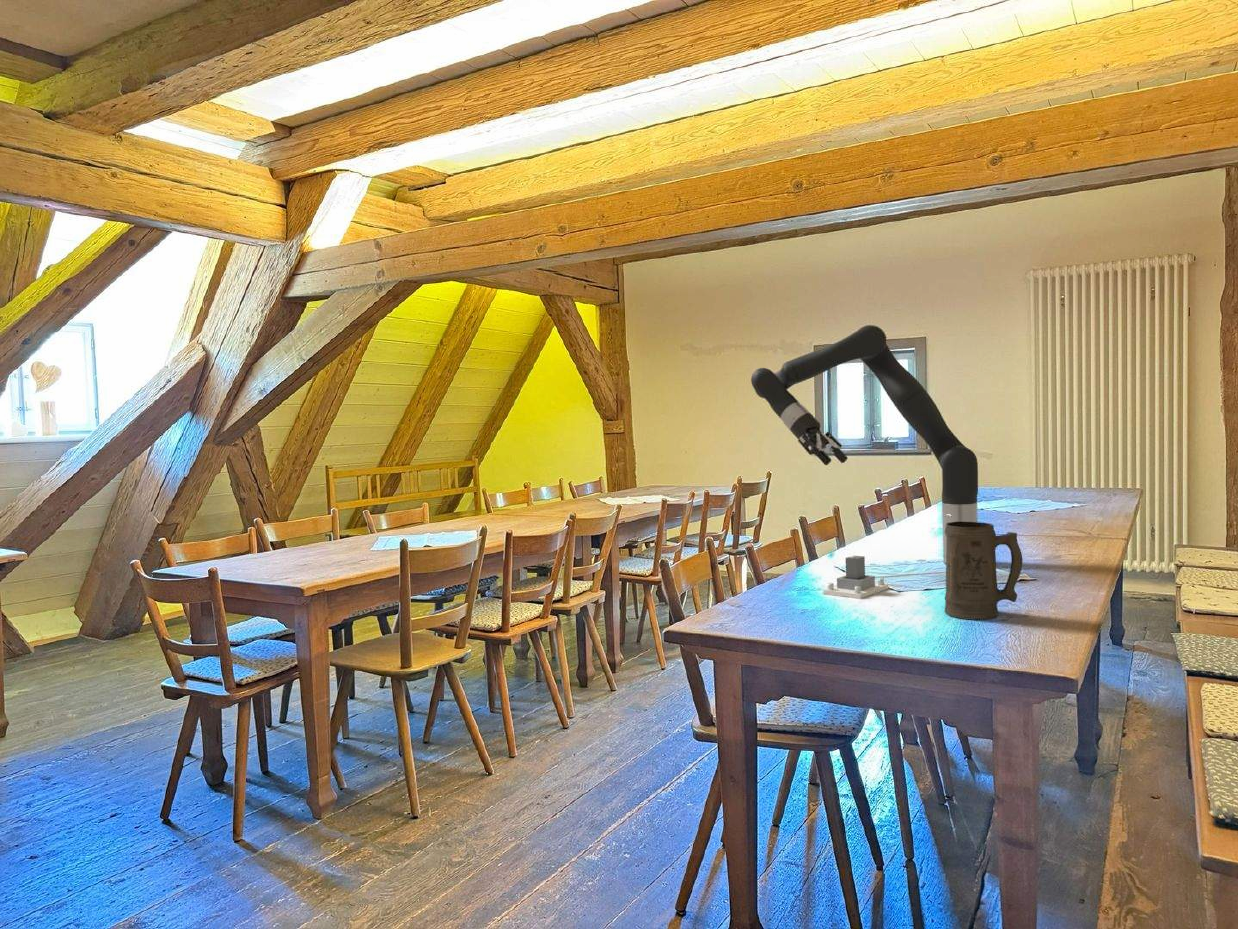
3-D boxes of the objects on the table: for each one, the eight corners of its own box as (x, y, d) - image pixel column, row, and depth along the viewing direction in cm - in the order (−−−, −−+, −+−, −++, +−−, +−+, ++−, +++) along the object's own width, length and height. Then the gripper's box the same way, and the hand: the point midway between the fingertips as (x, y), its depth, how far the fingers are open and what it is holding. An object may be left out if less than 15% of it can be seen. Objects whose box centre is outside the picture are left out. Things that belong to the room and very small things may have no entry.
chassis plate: (852, 584, 217) (852, 570, 217) (888, 588, 210) (888, 574, 210) (823, 593, 207) (822, 579, 207) (860, 598, 200) (859, 584, 200)
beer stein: (944, 619, 177) (949, 525, 176) (937, 607, 188) (942, 518, 186) (1023, 625, 174) (1028, 529, 172) (1012, 612, 184) (1017, 522, 183)
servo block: (854, 585, 211) (853, 553, 210) (865, 586, 209) (864, 554, 208) (846, 588, 208) (845, 556, 208) (857, 589, 206) (856, 557, 206)
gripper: (793, 412, 233) (831, 454, 225) (821, 411, 243) (858, 450, 235) (778, 432, 237) (815, 473, 229) (806, 430, 247) (842, 469, 239)
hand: (837, 461), depth 232 cm, fingers open, 8 cm apart
